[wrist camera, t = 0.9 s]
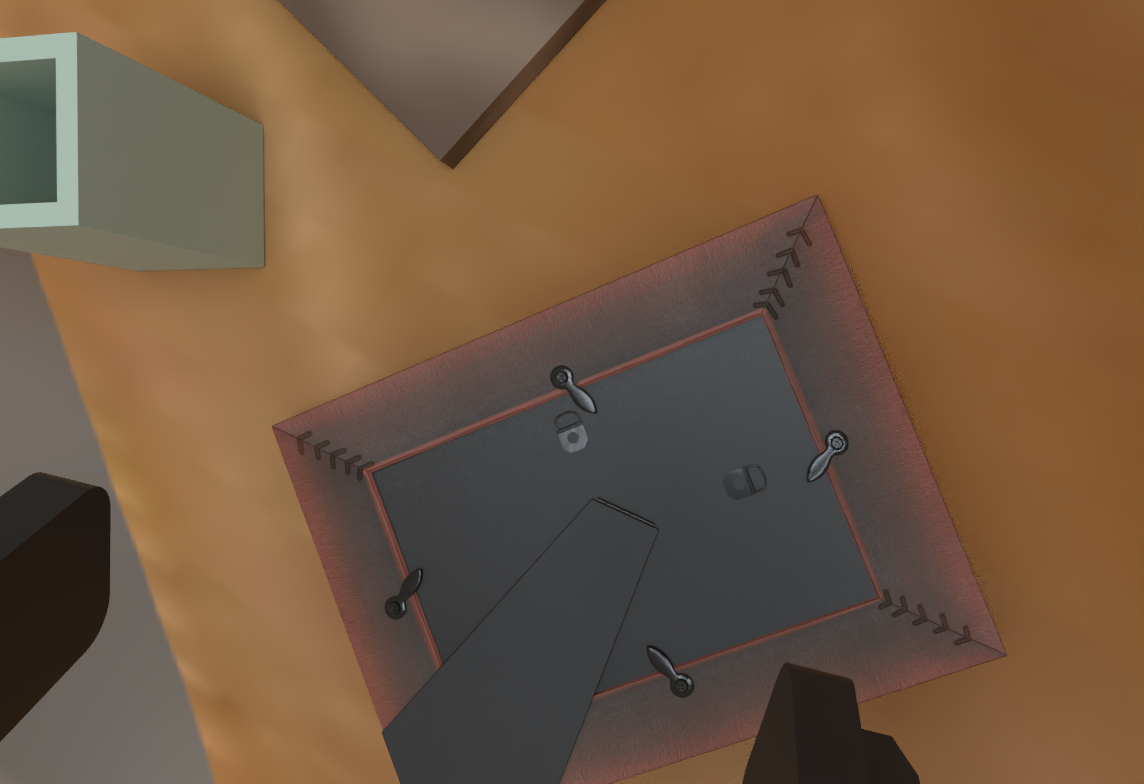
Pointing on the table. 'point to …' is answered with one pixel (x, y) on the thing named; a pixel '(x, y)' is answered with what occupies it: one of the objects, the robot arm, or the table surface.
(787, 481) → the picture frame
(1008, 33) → the table surface
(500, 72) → the post board
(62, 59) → the square hollow tube
